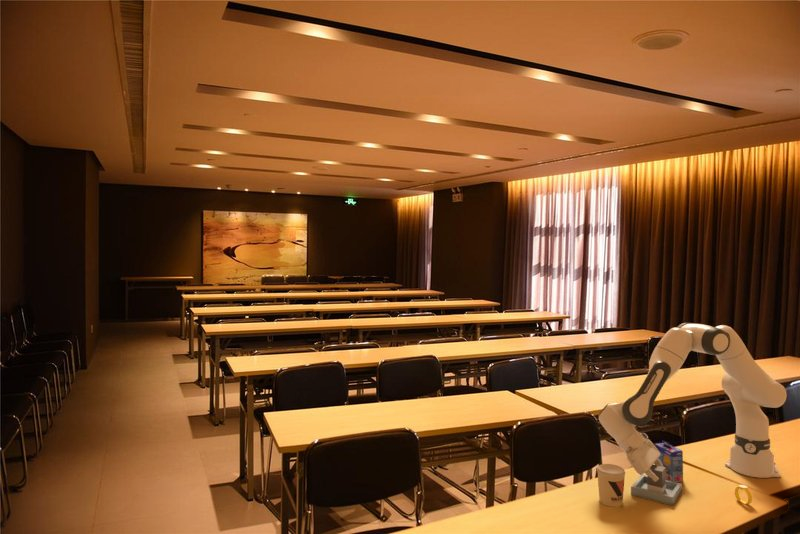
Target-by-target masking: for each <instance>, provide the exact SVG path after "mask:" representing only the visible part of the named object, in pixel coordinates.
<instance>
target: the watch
mask: <svg viewBox="0 0 800 534" xmlns="http://www.w3.org/2000/svg"><path fill="white" fill-rule="evenodd" d="M739 490H744V491H745V493H746V494H747V496H748V497H747V498H748V501H744V500H742V498H741V497H740V495H739ZM734 495H735V498H736V500H737V502H739V503H742V504H744V505H750V504H751V503H752V502H753V495H752V493H751V490H749V487H748V486H747V485H746V484H745V485H744V484H739V485H738V486H736V487H735V489H734Z"/></svg>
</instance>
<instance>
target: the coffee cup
mask: <svg viewBox="0 0 800 534" xmlns="http://www.w3.org/2000/svg"><path fill="white" fill-rule="evenodd" d="M596 471H597V484H598V485H597V487H598V496H599V497H598V498H599V502H600V503H601V504H603V505H605V506H607V507H612V508H614V507H615V508H616V507H621V506H622V505H623V504H624V503H623V501H624V491H625V490H624V489H625V478H626V477H625V475H626V471H625V469H624V468H623V467H622V466H620V465H617V464H612V463H603V464H602V463H601V464H599V465H598V466H597V468H596Z"/></svg>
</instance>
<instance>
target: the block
mask: <svg viewBox="0 0 800 534" xmlns="http://www.w3.org/2000/svg"><path fill="white" fill-rule="evenodd" d="M650 469H651V470H652V472H653V473H654V474H656V475H657V476H658V477H659V479H658V480H657V481H656V482H655V481H654V480H653V479H652V478H650V477H649V476H648V484H647V490H651V491H655V492H659V493H664V492H665V490H666V467H662V466H657V465H655V464H653V465H652V466H651V467H650Z"/></svg>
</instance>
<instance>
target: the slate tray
mask: <svg viewBox="0 0 800 534" xmlns="http://www.w3.org/2000/svg"><path fill="white" fill-rule="evenodd" d="M647 484H648V476H647V475H646V474H642V475H640V476H639V477H638V478H637V479H636V481H635V482H634V483H632V485H631V486H630V495H631V496H634V497H638V498H642V499H646V500H650V501H653V502H656V503H661V504H665V505H668V506H674V504H675V503H676V502H677V500H678V498H679V497H680V495H681V493H682V490H683V489H682V487H683V485H682V483H681V482H672V481H668V480H666V490H665V492H664V493H659V492H655V491H651V490H647Z"/></svg>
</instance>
